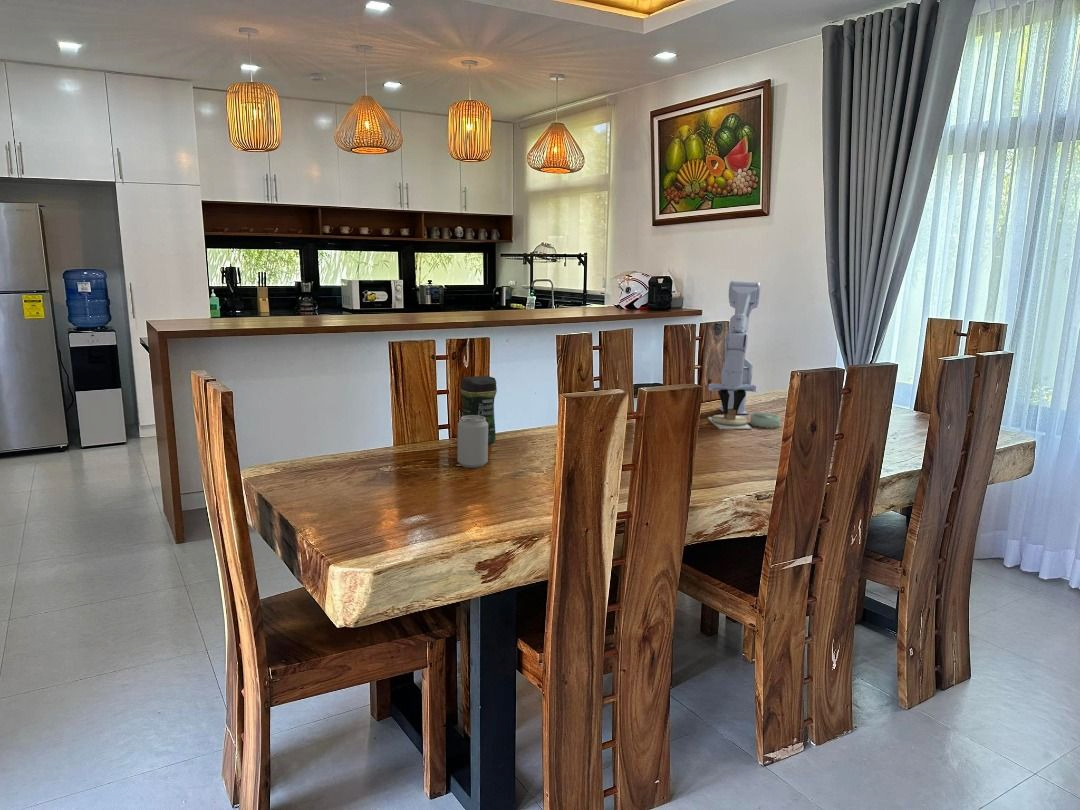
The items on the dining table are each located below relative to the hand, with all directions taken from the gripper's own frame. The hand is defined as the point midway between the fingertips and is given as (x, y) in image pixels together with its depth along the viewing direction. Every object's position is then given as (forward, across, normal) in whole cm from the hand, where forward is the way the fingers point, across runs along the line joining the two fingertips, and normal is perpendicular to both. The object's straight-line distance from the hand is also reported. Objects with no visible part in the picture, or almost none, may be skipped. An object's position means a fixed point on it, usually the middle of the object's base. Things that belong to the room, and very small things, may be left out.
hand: (730, 413), depth 232 cm
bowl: (+3, +12, 0) cm, 12 cm away
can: (+4, -79, -48) cm, 93 cm away
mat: (+3, 0, 0) cm, 3 cm away
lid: (+2, 0, 0) cm, 2 cm away
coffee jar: (+4, -78, -27) cm, 83 cm away
